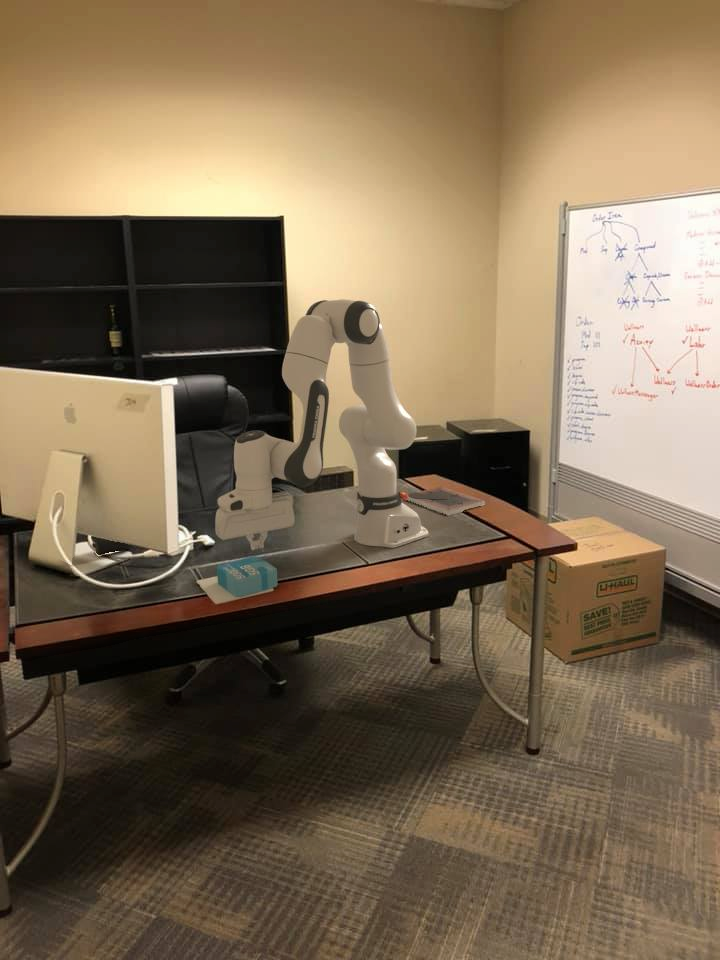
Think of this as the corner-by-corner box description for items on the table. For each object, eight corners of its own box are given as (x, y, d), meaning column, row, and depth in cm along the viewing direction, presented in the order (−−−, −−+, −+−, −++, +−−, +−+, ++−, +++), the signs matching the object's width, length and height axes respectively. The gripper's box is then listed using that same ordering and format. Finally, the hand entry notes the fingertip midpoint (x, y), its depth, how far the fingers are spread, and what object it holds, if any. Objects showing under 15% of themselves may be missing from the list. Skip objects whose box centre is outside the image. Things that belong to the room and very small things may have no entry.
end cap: (100, 560, 206) (97, 537, 204) (91, 553, 212) (89, 530, 210) (135, 551, 212) (132, 529, 210) (126, 544, 217) (123, 523, 216)
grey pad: (251, 570, 198) (251, 568, 198) (273, 590, 185) (273, 588, 185) (196, 582, 191) (196, 580, 191) (215, 604, 178) (215, 602, 178)
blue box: (279, 569, 185) (235, 581, 179) (280, 586, 187) (236, 598, 180) (256, 555, 195) (214, 566, 188) (257, 571, 196) (215, 582, 189)
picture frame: (405, 501, 255) (448, 517, 238) (405, 494, 254) (448, 510, 237) (440, 492, 264) (484, 507, 247) (440, 485, 263) (484, 500, 247)
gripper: (287, 487, 192) (289, 537, 195) (211, 499, 182) (215, 552, 186) (297, 493, 186) (299, 544, 190) (219, 506, 177) (223, 560, 181)
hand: (257, 548), depth 188 cm, fingers closed
